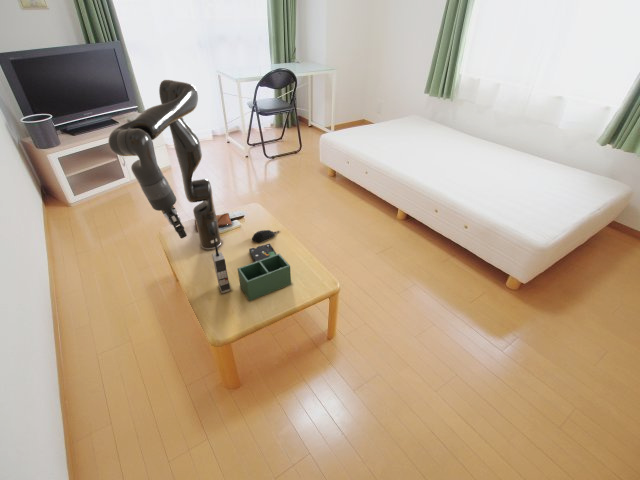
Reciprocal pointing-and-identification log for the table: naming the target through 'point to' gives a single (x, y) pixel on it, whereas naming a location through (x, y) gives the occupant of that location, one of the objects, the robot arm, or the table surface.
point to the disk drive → (262, 252)
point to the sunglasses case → (221, 220)
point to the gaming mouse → (263, 236)
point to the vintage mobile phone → (221, 270)
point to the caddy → (264, 276)
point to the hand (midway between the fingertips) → (179, 230)
